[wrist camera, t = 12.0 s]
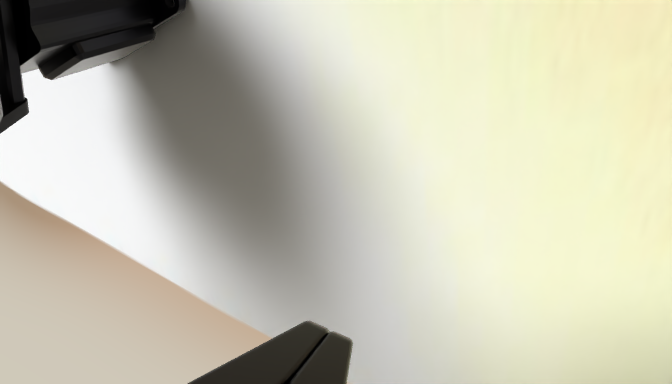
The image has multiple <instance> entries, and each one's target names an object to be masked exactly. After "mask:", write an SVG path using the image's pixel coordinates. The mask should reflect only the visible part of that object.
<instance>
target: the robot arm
mask: <svg viewBox="0 0 672 384" xmlns="http://www.w3.org/2000/svg"><path fill="white" fill-rule="evenodd" d="M174 2H175V4H173V3H172V0H0V133H2V132H3V131H5V130H6V129H7V128H9V127H10V126H11V125H13V124H14V123H16V122H17V121H18V120H20V119H21V118H23V117H24V116H25V115H27V114H28V113H29V109H28V101H27V98H25V97H24V90H23V82H22V74H21V73H25V72H28V71H32V70H35V69H39V70H40V71H41V73H42V75H43V77H45V78H47V79H50V80H54V79H57V78H60V77H64V76H67V75H70V74H73V73H77V72H80V71H83V70H86V69H89V68H93V67H96V66H99V65H102V64H106V63H109V62H112V61H115V60H118V59H122V58H124V57H125V56H127V55H129V54H130V53H132V52H134V51H135V50H137V49H139V48H141V47H142V46H144V45H146V44H147V43H149V42H151V41H152V40H154V37H155V34H156V33H155V31H154V29H155V28H157V27H158V26H160V25H161V24H163V23H165V22H166V21H168V20H170V19H171V18H173V17H174V16H176V15H178V14H179V13H181V12H182V11H183V10H184V9H185V6H186V1H185V0H174ZM352 346H353V342H352V340H351V339H350V338H347V337H345V336H343V335H341V334H339V333H336V332H329V330H328V329H327V328H325V327H323V326H321V325H319V324H316V323H314V322H312V321H305V322H303V323H301V324H299V325H297V326H295V327H293V328H292V329H290V330H288V331H286V332H284V333H282V334H280V335H278V336H276V337H275V338H273V339H271V340H269V341H267V342H265V343H263V344H261V345H259V346H258V347H256V348H254V349H252V350H250V351H248V352H246V353H244V354H242V355H241V356H239V357H237V358H235V359H233V360H231V361H229V362H227V363H225V364H224V365H222V366H220V367H218V368H216V369H214V370H212V371H210V372H208V373H207V374H205V375H203V376H201V377H199V378H197V379H195V380H193V381H192V382H189V383H188V384H346V383H347V377H348V370H349V364H350V358H351V352H352Z"/></svg>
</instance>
